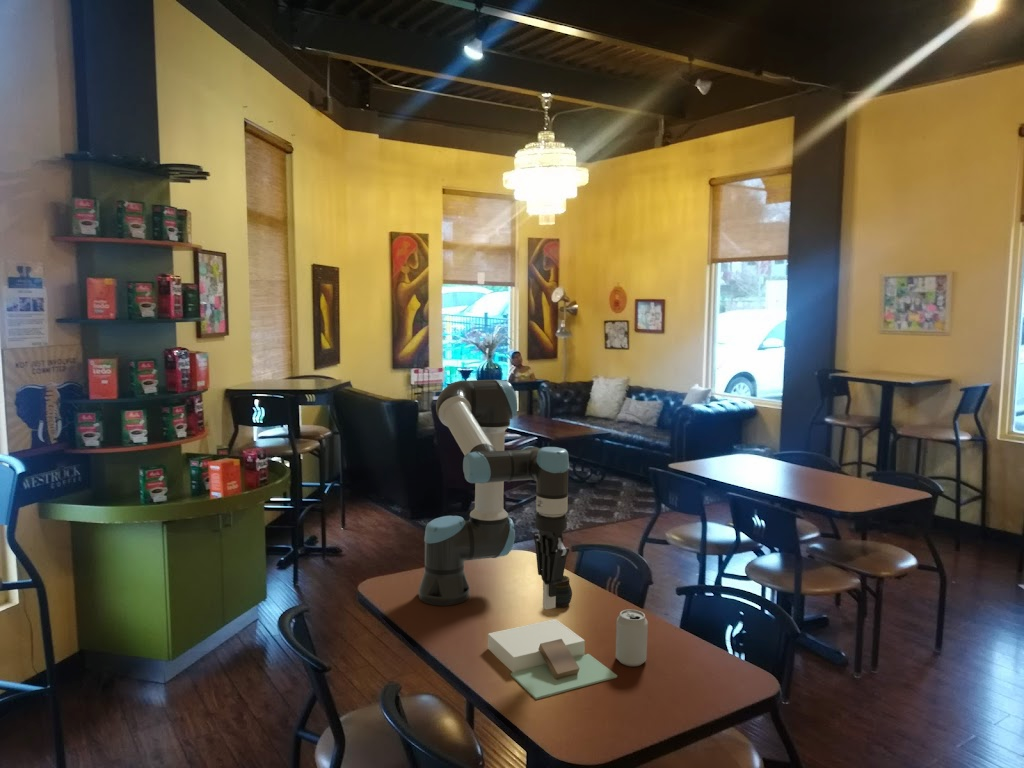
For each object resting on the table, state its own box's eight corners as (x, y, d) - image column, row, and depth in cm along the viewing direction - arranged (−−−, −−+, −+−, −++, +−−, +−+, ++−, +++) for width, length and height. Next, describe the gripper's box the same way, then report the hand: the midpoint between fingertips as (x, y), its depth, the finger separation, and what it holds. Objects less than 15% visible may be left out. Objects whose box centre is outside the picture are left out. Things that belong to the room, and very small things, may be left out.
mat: (510, 675, 170) (510, 673, 170) (588, 655, 180) (588, 653, 180) (535, 699, 159) (536, 697, 159) (617, 677, 169) (617, 675, 169)
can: (627, 670, 173) (629, 622, 171) (609, 657, 179) (610, 610, 178) (652, 664, 176) (654, 616, 175) (633, 651, 183) (635, 605, 182)
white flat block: (487, 648, 183) (488, 633, 182) (555, 633, 192) (555, 618, 192) (513, 673, 170) (514, 657, 170) (584, 655, 180) (584, 640, 179)
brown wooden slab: (538, 649, 174) (540, 643, 173) (559, 644, 176) (561, 638, 175) (555, 679, 167) (557, 673, 166) (577, 674, 170) (579, 668, 169)
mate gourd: (559, 611, 206) (559, 577, 205) (541, 603, 212) (541, 570, 211) (577, 605, 211) (577, 571, 210) (558, 597, 216) (559, 565, 215)
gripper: (524, 507, 176) (522, 600, 179) (552, 521, 165) (549, 620, 167) (550, 504, 179) (548, 595, 182) (579, 518, 168) (576, 615, 171)
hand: (549, 607), depth 175 cm, fingers closed
